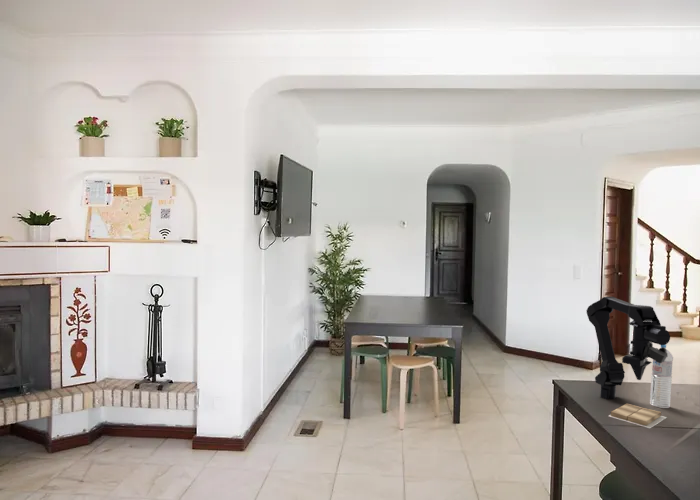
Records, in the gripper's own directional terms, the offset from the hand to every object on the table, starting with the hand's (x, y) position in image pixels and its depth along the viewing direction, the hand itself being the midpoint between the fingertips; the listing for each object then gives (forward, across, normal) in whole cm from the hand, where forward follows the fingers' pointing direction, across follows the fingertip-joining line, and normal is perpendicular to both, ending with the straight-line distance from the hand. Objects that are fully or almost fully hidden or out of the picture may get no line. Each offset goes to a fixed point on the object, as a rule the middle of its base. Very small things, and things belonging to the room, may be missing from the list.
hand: (638, 379), depth 191 cm
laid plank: (+12, -6, +1) cm, 14 cm away
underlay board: (+13, -6, -2) cm, 15 cm away
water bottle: (+13, +15, -3) cm, 20 cm away
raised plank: (+12, -7, -5) cm, 14 cm away
